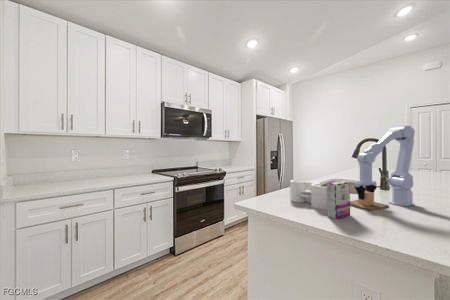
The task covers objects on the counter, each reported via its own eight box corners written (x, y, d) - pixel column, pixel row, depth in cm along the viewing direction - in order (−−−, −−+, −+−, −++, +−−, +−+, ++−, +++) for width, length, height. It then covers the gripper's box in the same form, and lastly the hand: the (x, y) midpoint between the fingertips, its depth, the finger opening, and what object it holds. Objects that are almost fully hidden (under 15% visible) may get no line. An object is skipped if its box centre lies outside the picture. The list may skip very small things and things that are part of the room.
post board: (363, 200, 122) (363, 191, 122) (388, 207, 109) (388, 197, 109) (344, 203, 117) (343, 194, 117) (368, 211, 104) (368, 200, 103)
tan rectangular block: (364, 202, 116) (364, 190, 116) (374, 204, 111) (374, 192, 111) (358, 203, 114) (358, 191, 114) (367, 205, 109) (367, 193, 109)
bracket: (286, 200, 127) (286, 180, 126) (296, 197, 132) (296, 179, 132) (324, 210, 106) (324, 187, 106) (334, 207, 111) (334, 185, 111)
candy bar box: (340, 212, 102) (340, 180, 102) (350, 215, 98) (350, 181, 97) (326, 216, 97) (326, 182, 97) (336, 219, 93) (335, 184, 92)
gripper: (363, 176, 106) (363, 201, 107) (382, 174, 111) (381, 198, 112) (351, 174, 113) (351, 198, 113) (368, 172, 118) (368, 196, 118)
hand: (365, 198), depth 113 cm, fingers open, 6 cm apart
